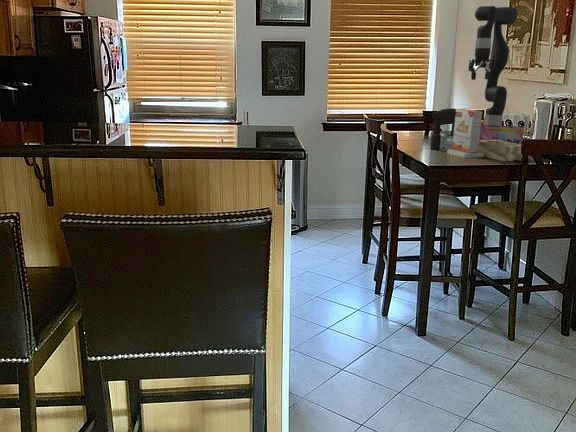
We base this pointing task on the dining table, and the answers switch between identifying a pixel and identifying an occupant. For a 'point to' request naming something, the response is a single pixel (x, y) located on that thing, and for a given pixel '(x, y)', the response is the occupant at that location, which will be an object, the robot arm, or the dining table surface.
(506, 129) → the gum box
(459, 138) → the cracker box
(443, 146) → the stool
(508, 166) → the dining table surface
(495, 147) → the holder
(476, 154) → the plate
